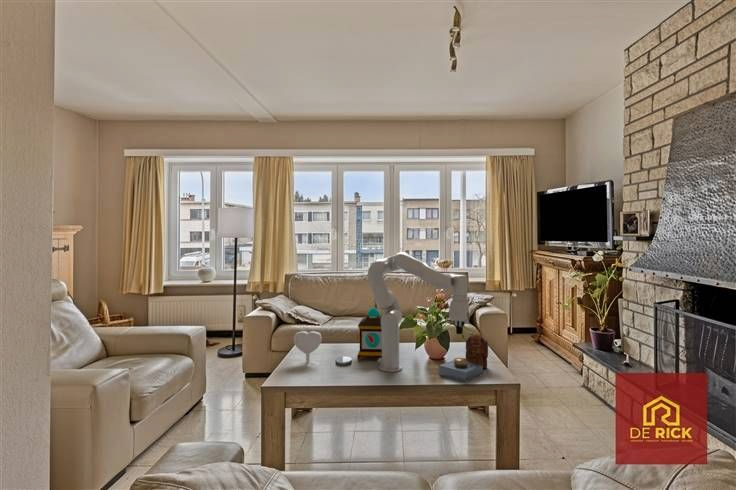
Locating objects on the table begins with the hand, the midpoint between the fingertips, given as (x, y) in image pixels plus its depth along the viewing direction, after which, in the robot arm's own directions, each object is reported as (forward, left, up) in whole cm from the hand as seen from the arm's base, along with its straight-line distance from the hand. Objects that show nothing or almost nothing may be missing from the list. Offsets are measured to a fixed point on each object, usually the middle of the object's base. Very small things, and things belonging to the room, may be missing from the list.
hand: (459, 333), depth 219 cm
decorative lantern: (-54, -9, -22) cm, 59 cm away
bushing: (+1, 0, -21) cm, 21 cm away
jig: (+1, 0, -21) cm, 21 cm away
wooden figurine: (0, +17, -22) cm, 27 cm away
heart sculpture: (-72, -44, -22) cm, 87 cm away
